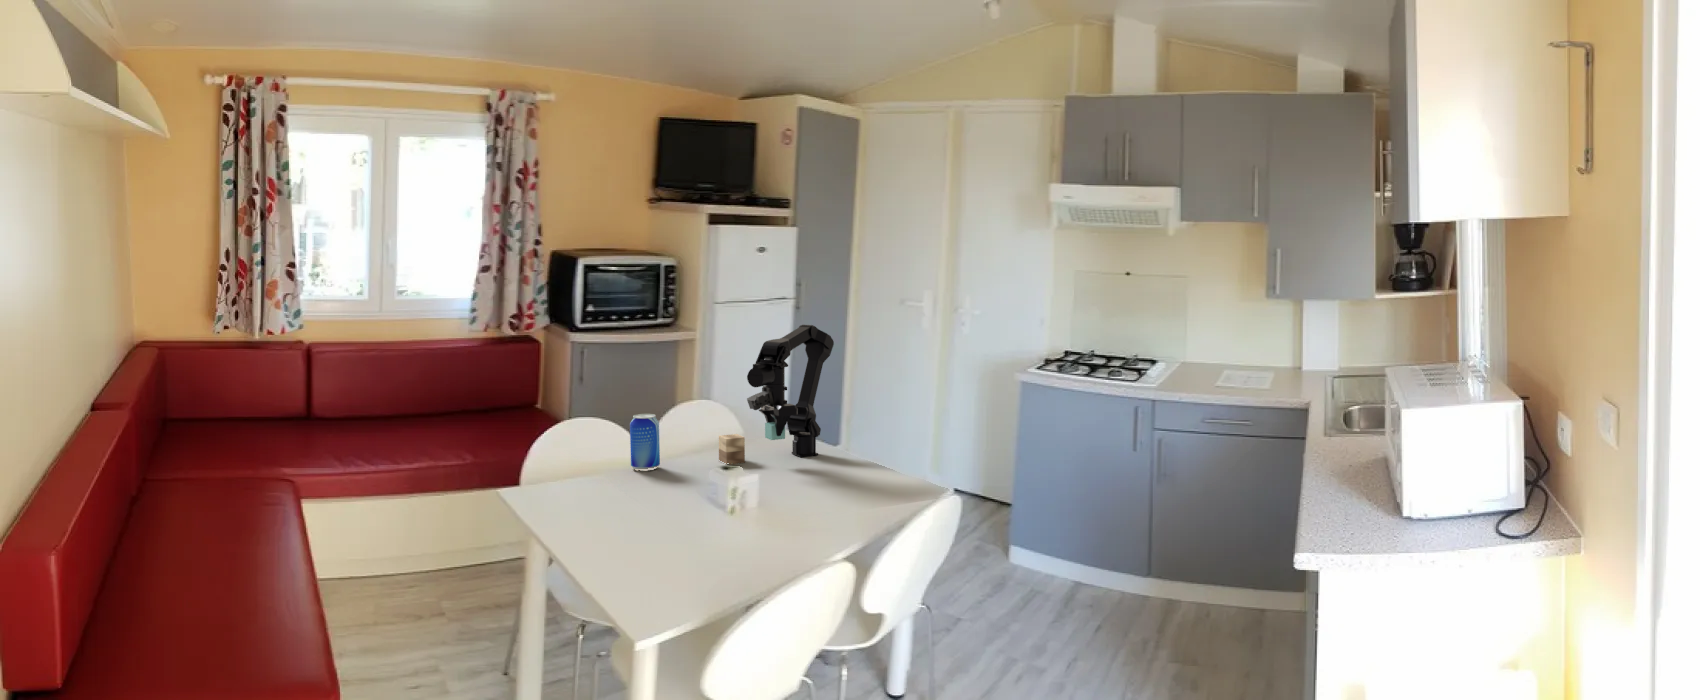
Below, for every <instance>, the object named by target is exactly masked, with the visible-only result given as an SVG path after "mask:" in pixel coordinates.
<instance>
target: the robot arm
mask: <svg viewBox="0 0 1700 700" xmlns="http://www.w3.org/2000/svg"><path fill="white" fill-rule="evenodd" d="M801 345H804V346H805V348H804V350H805V353H806V356H807V362H806V367H805V371H804V376H803V380H802V384H801V389H800V392H799V396H798V400H797V403H795V404H793V403H788V400H787V399H785V398H786V397H785V392H786V391H788V386H786V385H785V381H786V380H785V379H786V378H785V376H786V375H785V368H787V367H789V363H788V362H786V360H787V359H788V358H789V357H790V356H791V351H793V350H794V349H796V348H798V347H799V346H801ZM834 345H835V343H834V339H833V338H832V337H831V335H830V334H828V333H827V332H825V331H823V330H820V329H819V328H817V327H816V326H815V325H814V324H813V325H812V324H801V325H799V326H798V327H797V328H796V329H794V330H792V331H791V332H789V333H788V334H785V335H784V336H782V337H780V338H775V339H769V340H766V341H764V342H763V344H762V346H761V348H760V350H759V353H758V356H757V358H756V361H755V363H753V364H752V368H751V369H750V370H748V372H747V376H746V379H747V382H748V384H749V385H750V386H751V387H752V388H760V387H762V388H761V391H760V392H758V393H755V394H753V395H751V396H749V397H747V398H746V401H747V404H748V407H749V409H750V410H752V411H753V410H754V411H757V410H758V411H759V412H760V413H761V414H762V415H763V416H764V418H765V421H766V422H765V423H769V422H775V426H776V434H777V436H781V434H782V432H783V430H784V427H785V428H786V426H787V429H788V433H789V436H793V440H792V451H791V454H792V455H795V456H797V457H799V458H804V457H812V456H819V453H818V452H817V448H816V447H817V439H816V438H818V437H819V436H821V431H822V429H821V427H820V425H819V424H818V422H817V421H816V419H817V414H816V411H815V406H814V404H815V400H816V397H817V396H816V395H817V392H818V387H819V382H820V379H821V373H822V369H823V365H824V363H825V362H826V360H828V358H829V357H830V356H831V353H832V351H833V348H834Z"/></svg>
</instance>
